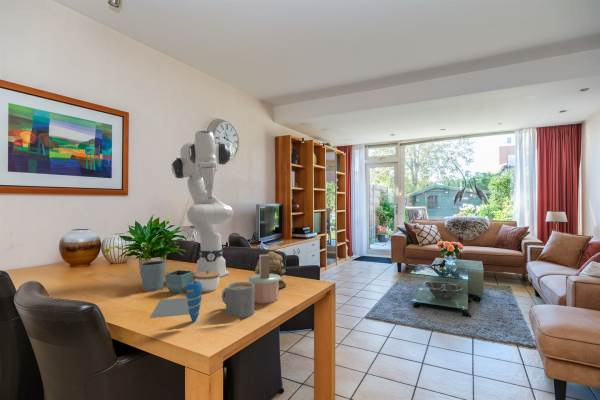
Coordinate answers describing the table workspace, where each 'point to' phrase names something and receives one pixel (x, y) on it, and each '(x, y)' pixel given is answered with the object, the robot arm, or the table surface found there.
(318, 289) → the table surface
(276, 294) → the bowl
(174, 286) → the flower pot
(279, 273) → the brown rock sculpture
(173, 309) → the mat
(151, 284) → the blue-grey tapered cup
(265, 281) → the lid
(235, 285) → the coffee mug
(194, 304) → the ornament
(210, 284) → the lidded jar
